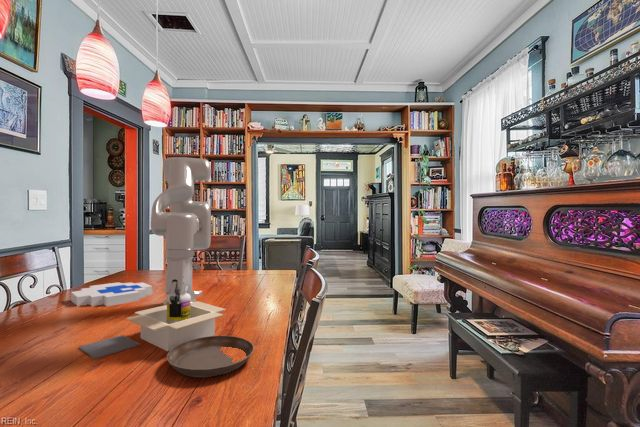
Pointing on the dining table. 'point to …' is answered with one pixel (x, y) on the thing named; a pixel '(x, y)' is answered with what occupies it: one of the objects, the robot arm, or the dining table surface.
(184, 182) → the robot arm
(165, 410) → the dining table surface
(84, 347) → the coaster mat
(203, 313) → the carton
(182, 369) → the plant saucer
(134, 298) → the pixel art tile
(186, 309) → the supplement bottle
